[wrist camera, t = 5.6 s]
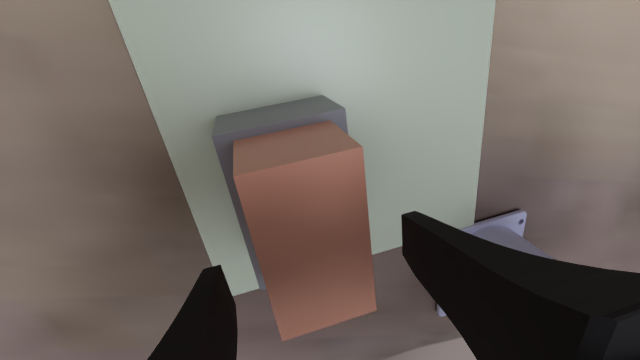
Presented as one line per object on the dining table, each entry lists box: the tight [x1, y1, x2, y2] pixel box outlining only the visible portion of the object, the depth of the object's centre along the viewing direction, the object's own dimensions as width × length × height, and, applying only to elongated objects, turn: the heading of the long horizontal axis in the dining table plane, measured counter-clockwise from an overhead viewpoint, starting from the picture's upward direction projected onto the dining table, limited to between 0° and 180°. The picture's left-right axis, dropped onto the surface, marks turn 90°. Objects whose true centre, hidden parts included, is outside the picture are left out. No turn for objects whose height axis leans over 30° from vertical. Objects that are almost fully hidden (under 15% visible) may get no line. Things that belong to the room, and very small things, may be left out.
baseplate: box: [108, 0, 496, 296], centre depth 18 cm, size 22×20×1 cm
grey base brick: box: [212, 95, 348, 291], centre depth 17 cm, size 9×6×4 cm, turn 8°
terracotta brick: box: [233, 121, 377, 341], centre depth 14 cm, size 8×4×4 cm, turn 8°
